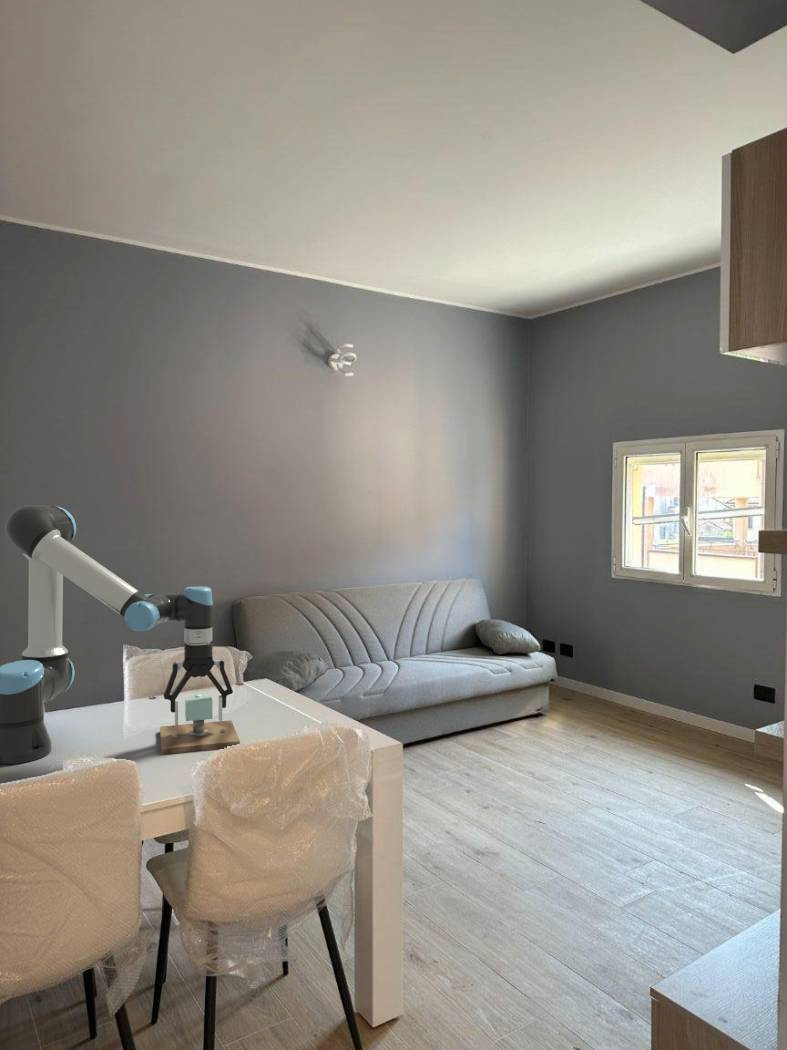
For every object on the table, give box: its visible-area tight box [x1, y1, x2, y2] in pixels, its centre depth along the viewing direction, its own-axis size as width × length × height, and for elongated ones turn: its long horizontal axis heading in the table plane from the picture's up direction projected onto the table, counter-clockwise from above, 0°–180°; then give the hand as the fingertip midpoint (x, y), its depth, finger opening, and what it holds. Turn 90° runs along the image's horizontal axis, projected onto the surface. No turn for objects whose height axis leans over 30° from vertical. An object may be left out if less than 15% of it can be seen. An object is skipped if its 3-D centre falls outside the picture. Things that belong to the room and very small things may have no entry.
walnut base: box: [159, 719, 241, 755], centre depth 201 cm, size 20×20×6 cm
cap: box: [184, 694, 213, 722], centre depth 202 cm, size 8×7×5 cm
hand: (198, 721), depth 201 cm, fingers open, 11 cm apart
